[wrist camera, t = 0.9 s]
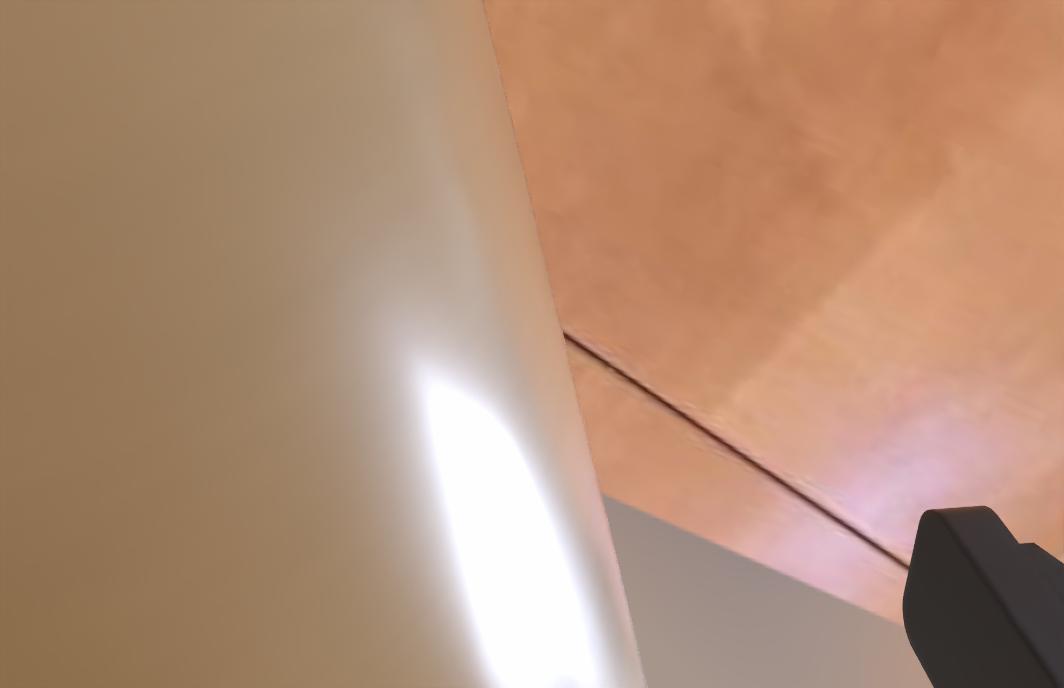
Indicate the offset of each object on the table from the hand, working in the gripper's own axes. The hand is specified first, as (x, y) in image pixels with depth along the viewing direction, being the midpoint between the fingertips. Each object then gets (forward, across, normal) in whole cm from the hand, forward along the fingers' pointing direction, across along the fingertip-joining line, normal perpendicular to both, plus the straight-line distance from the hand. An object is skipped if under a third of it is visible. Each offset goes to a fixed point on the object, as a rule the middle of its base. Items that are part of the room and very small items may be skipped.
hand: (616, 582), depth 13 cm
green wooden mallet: (-7, -3, +12) cm, 14 cm away
